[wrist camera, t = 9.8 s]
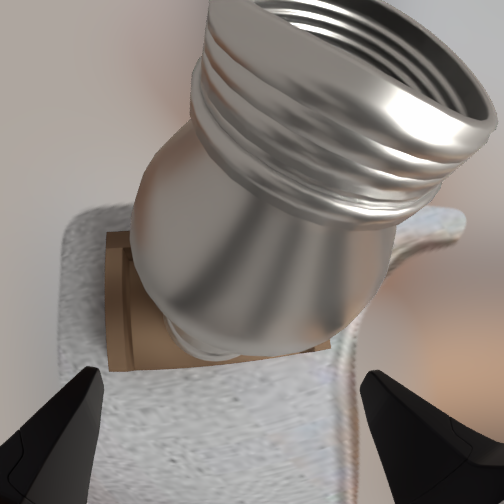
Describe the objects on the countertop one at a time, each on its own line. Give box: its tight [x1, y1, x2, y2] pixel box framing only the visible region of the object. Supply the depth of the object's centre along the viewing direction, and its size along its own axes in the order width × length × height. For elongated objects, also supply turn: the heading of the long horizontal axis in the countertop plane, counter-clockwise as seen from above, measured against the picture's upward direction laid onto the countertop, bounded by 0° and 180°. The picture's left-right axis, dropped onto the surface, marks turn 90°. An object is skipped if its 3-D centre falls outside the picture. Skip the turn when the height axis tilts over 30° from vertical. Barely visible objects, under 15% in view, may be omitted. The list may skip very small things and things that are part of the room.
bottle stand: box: [105, 231, 331, 372], centre depth 20 cm, size 9×14×4 cm, turn 98°
